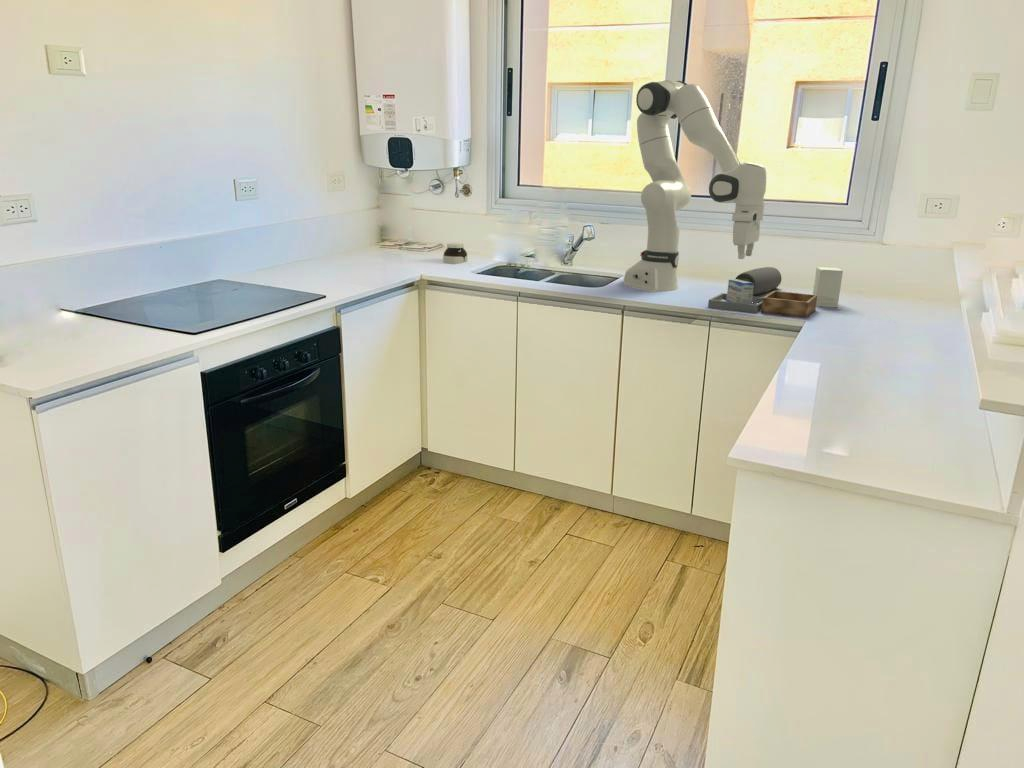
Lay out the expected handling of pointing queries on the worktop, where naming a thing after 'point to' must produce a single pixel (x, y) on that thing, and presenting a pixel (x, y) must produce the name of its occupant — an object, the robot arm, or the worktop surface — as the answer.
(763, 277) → the bluetooth speaker
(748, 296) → the medicine box
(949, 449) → the worktop surface
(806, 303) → the walnut crate
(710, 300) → the tray
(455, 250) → the spread jar
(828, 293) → the supplement box
